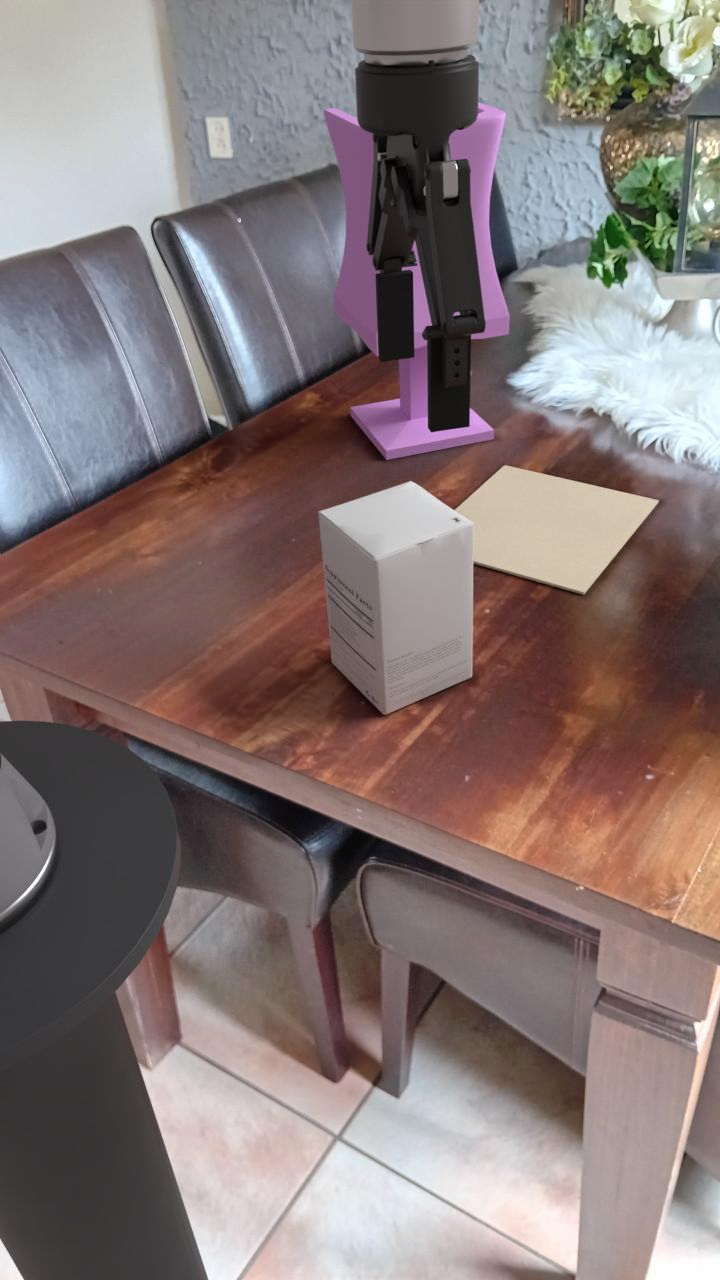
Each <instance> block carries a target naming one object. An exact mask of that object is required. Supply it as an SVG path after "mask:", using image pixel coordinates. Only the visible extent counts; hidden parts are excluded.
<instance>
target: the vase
mask: <svg viewBox="0 0 720 1280" xmlns="http://www.w3.org/2000/svg"><path fill="white" fill-rule="evenodd" d="M323 115H324V120H325V123H326V126H327V130H328V133H329V136H330V137H329V138H330V140H331V144H332V146H333V150H334V154H335V158H336V161H337V166H338V170H339V171H338V172H339V176H340V180H341V185H342V189H343V199H344V205H345V206H344V207H345V240H344V249H343V256H342V261H341V265H340V271H339V274H338V278H337V283H336V286H335V289H334V295H333V305H334V306H333V307H334V315H335V316H336V317H337V318H338V319H339V320H341V322H343V323H344V324H346V325H348V326H349V327H350V328H351V329H352V330H353V331H354V332H355V333H356V334H357V335H358V336H359V337H360V338H361V340H362V341H363V343H364V344H365V345H366V348H368V349H369V350H370V351H371V352H372V353H373V354H374V355H375V356H376V357H378V358H379V356H378V330H377V303H376V276H375V274H378V273H380V270H377V271H376V270H375V268H374V266H373V263H372V260H373V255H369V254H368V251H367V249H366V244H367V236H368V224H369V212H370V199H371V187H372V175H373V163H374V151H373V139H372V135H373V133H370V132H367V131H365V130H363V129H362V128H361V127H360V126H359V124H358V121H357V116H353V115H352V114H349V113H347V112H345V111H343V110H340V109H338V108H336V107H332V108H331V107H330V108H323ZM506 117H507V114H506V111H504V110H502V109H500V108H497V107H495V106H491V105H489V104H485V103H482V102H480V101H478V116H477V119H476V121H475V122H474V123H473V124H472V125H471V126H469V127H468V128H465V129H463V130H455V131H454V132H453V133H452V134H451V135H450V136H449V141H448V142H449V144H450V154H451V160H459V159H468V161H469V165H470V167H471V173H470V190H471V208H472V217H473V225H474V233H475V242H476V250H477V259H478V267H479V275H480V284H481V292H482V300H483V309H484V317H485V321H486V325H485V326H486V327H485V330H484V332H483V333H477V334H471V340H484V339H489V338H491V339H492V338H497V337H502V336H507V335H508V336H509V335H510V320H511V319H510V317H511V316H510V313H509V309H508V306H507V303H506V300H505V296H504V294H503V290H502V287H501V284H500V279H499V276H498V272H497V269H496V265H495V263H496V262H495V258H494V254H493V249H492V240H491V230H490V229H491V228H490V208H491V207H490V206H491V205H490V204H491V192H492V186H493V178H494V172H495V167H496V163H497V157H498V152H499V147H500V143H501V139H502V135H503V131H504V127H505V124H506V123H505V122H506ZM412 251H414V254H415V256H416V260H417V262H415V263H417V264H418V265H417V266H411V267H403V268H402V271H403V270H411V271H412V272H413V298H414V358H407V359H399V360H398V376H399V377H398V378H399V398H394V399H389V400H384V401H378V402H372V403H366V404H361V405H356V406H350V417H351V418H352V419H353V421H354V422H355V424H356V425H358V427H359V428H360V429H361V430H362V432H363V433H364V434H365V436H367V438H368V440H369V441H371V443H372V444H373V445H374V446H375V448H376V449H377V450H378V451H379V453H380V454H381V455H382V457H383V458H384V459H385V460H386V461H389V460H394V459H399V458H405V457H409V456H414V455H420V454H425V453H429V452H435V451H441V450H445V449H450V448H451V449H452V448H456V447H461V446H467V445H471V444H477V443H481V442H487V441H492V440H495V429H494V428H493V427H492V426H491V425H490V424H488V423H487V422H486V421H485V420H484V419H483V418H482V417H481V416H480V415H479V414H478V413H477V412H475V411H474V410H473V409H472V408H471V407H470V427H464V428H457V429H451V430H444V431H437V432H430V430H429V429H428V379H427V340H424V339H423V337H422V333H423V331H424V329H425V328H426V326H432V323H431V318H430V313H429V308H428V303H427V298H426V293H425V288H424V283H423V278H422V272H421V267H420V262H419V257H418V252H417V247H416V242H415V240H414V244H413V248H412ZM456 315H460V313H459V312H455V313H454V315H453V316H456Z"/></svg>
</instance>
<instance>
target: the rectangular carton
mask: <svg viewBox="0 0 720 1280" xmlns="http://www.w3.org/2000/svg"><path fill="white" fill-rule="evenodd" d="M454 510H455V509H452V508H451V507H450V506H449V505H447V504H446V503H444V502H443V501H441V500H440V499H438V498H437V497H436V496H435V495H433V494H432V493H430V492H429V491H427V490H426V489H425V488H424V487H422V486H421V485H419V484H417V483H415V482H413V481H412V480H409V481H407V482H404V483H401V484H398V485H394V486H391V487H389V488H386V489H383V490H380V491H377V492H373V493H371V494H368V495H365V496H362V497H359V498H356V499H353V500H350V501H346V502H344V503H340V504H338V505H335V506H332V507H328V508H325V509H322V510H318V512H317V513H318V524H319V525H318V526H319V537H320V546H321V559H322V569H323V580H324V590H325V592H324V593H325V601H326V612H327V613H326V614H327V624H328V633H329V634H328V637H329V647H330V658H331V659H330V660H331V663H332V664H333V666H335V668H337V669H338V671H340V672H341V674H342V675H343V676H344V677H346V679H347V680H348V681H349V682H350V683H351V684H352V685H353V686H354V687H355V688H356V689H358V691H359V692H360V693H361V694H362V695H363V696H364V697H365V698H366V699H367V700H368V701H369V702H370V703H371V704H372V705H373V706H374V707H375V708H376V709H377V710H378V711H379V712H380V713H381V714H382V715H385V716H387V715H389V714H391V713H393V712H396V711H398V710H400V709H402V708H405V707H407V706H410V705H412V704H415V703H416V702H418V701H421V700H423V699H426V698H428V697H430V696H432V695H435V694H437V693H439V692H441V691H443V690H446V689H448V688H451V687H453V686H455V685H457V684H460V683H462V682H464V681H466V680H469V679H471V678H472V677H473V655H474V653H473V651H474V649H473V645H474V644H473V640H474V639H473V637H474V636H473V634H474V564H473V537H474V524H473V523H472V522H471V521H470V520H468V519H466V518H465V517H463V516H462V515H460V514H459V513H457V512H456V511H454Z"/></svg>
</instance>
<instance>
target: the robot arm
mask: <svg viewBox="0 0 720 1280" xmlns="http://www.w3.org/2000/svg"><path fill="white" fill-rule="evenodd" d="M485 1H486V0H350V4H351V6H350V7H351V25H352V27H351V28H352V46H353V48H354V49H355V50H356V51H357V52H358V53H360V54H363V60H361V61H359V62H358V64H357V66H356V67H355V68H354V77H355V95H356V96H355V98H356V100H355V101H356V102H355V103H356V118H357V121H358V124H359V126H360V127H361V128H362V129H363V130H365V131H367V132H370V133H373V135H372V139H373V151H374V163H373V175H372V187H371V199H370V212H369V224H368V236H367V244H366V249H367V251H368V254H369V255H373V260H372V263H373V266H374V268H375V270H376V271H377V270H380V273H378V274H375V276H376V303H377V330H378V360H379V362H381V363H384V362H391V361H399V359H407V358H414V298H413V272H412V271H411V270H403V271H402V268H403V267H411V266H417V265H418V264H417V263H415V262H417V260H416V256H415V254H414V251H412V248H413V244H414V240H415V242H416V247H417V252H418V257H419V262H420V267H421V272H422V278H423V283H424V288H425V293H426V298H427V303H428V308H429V313H430V318H431V323H432V326H426V328H425V329H424V331H423V333H422V337H423V339H424V340H427V379H428V429H429V430H430V432H437V431H444V430H451V429H457V428H464V427H470V408H471V377H472V376H471V373H472V371H471V367H472V339H471V334H477V333H483V332H484V330H485V327H486V326H485V325H486V321H485V317H484V309H483V300H482V292H481V284H480V275H479V267H478V259H477V250H476V242H475V233H474V225H473V217H472V208H471V190H470V173H471V167H470V165H469V161H468V159H459V160H451V154H450V144H449V142H448V141H449V136H450V135H451V134H452V133H453V132H454V131H455V130H463V129H465V128H468V127H469V126H471V125H472V124H473V123H474V122H475V121H476V119H477V116H478V102H479V82H480V77H479V75H480V62H479V61H477V60H476V59H477V58H476V57H475V56H474V55H472V54H469V49H470V48H473V47H475V45H477V43H478V42H479V39H480V38H479V37H480V36H479V35H480V31H479V30H480V4H482V3H484V2H485ZM455 312H459V313H460V315H456V316H453V315H454V313H455ZM59 854H60V840H59V834H58V831H57V828H56V825H55V822H54V819H53V816H52V813H51V811H50V809H49V807H48V805H47V804H46V802H45V801H44V800H43V798H42V797H41V796H40V794H39V793H38V792H37V791H36V790H35V789H34V788H33V787H32V786H31V785H30V784H29V783H28V782H27V781H26V780H25V778H24V777H23V776H22V775H21V774H20V773H19V772H18V771H17V770H16V769H15V768H14V767H13V766H12V765H11V764H10V763H9V762H8V760H7V759H6V758H5V757H4V756H3V755H2V754H1V752H0V934H2V933H3V932H5V931H6V930H8V929H9V928H10V927H12V926H13V925H14V924H15V923H17V922H18V921H19V920H20V919H21V918H22V917H23V916H24V915H25V914H26V913H27V912H28V911H29V910H30V909H31V908H32V907H33V906H34V905H35V904H36V903H37V902H38V900H39V899H40V898H41V896H42V895H43V894H44V892H45V891H46V889H47V887H48V886H49V884H50V882H51V880H52V878H53V876H54V873H55V871H56V868H57V865H58V860H59Z"/></svg>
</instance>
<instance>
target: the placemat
mask: <svg viewBox="0 0 720 1280" xmlns="http://www.w3.org/2000/svg"><path fill="white" fill-rule="evenodd" d="M659 502H660V500H659V499H655V498H651V497H646V496H642V495H638V494H633V493H629V492H625V491H620V490H616V489H611V488H606V487H602V486H598V485H595V484H590V483H585V482H581V481H577V480H572V479H567V478H564V477H558V476H555V475H550V474H547V473H541V472H537V471H533V470H528V469H523V468H520V467H515V466H511V465H507V464H504V465H503V466H501V467H500V469H498V470H497V471H496V472H494V474H493V475H492V476H490V478H488V479H487V480H486V481H485V482H483V484H481V485H480V486H479V487H478V488H477V489H476V490H474V491H473V492H472V494H471V495H469V496H468V497H467V498H466V499H465V500H464V501H463V502H462V503H460V505H459V506H457V507H456V508H455V509H453V510H454V511H456V512H457V513H459V514H460V515H462V516H463V517H465V518H466V519H468V520H470V521H471V522H472V523H473V524H474V537H473V565H476V566H480V567H485V568H487V569H492V570H495V571H498V572H502V573H505V574H508V575H512V576H516V577H519V578H523V579H525V580H530V581H534V582H536V583H541V584H544V585H547V586H551V587H554V588H559V589H561V590H565V591H567V592H568V591H569V592H573V593H576V594H579V595H582V596H584V595H585V594H586V593H587V592H588V590H589V589H591V587H592V585H593V584H594V583H595V582H596V580H597V579H598V578H599V577H600V576H601V575H602V573H603V572H604V571H605V570H606V568H607V567H608V566H609V565H610V563H611V562H612V561H613V560H614V559H615V557H616V556H617V555H618V553H619V552H620V551H621V550H622V548H623V547H624V546H625V545H626V544H627V542H628V541H629V540H630V538H631V537H632V536H633V535H634V534H635V532H636V531H637V530H638V529H639V528H640V526H641V525H642V524H643V522H644V521H645V520H646V519H647V518H648V516H649V515H650V514H651V513H652V511H653V510H654V509H655V508H656V506H657V505H658V504H659Z"/></svg>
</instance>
